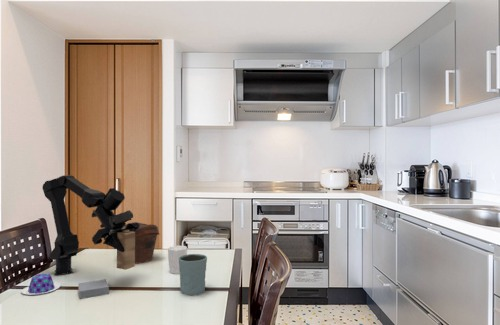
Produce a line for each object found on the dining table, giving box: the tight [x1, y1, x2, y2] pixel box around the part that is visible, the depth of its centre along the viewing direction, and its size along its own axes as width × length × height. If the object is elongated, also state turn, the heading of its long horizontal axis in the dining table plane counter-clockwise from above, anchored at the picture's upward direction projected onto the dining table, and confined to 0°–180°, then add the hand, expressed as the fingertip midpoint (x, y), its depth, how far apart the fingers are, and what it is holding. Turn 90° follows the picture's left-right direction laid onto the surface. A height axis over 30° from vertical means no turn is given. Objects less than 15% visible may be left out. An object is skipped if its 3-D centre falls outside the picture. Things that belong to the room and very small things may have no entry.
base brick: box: [78, 278, 110, 299], centre depth 116 cm, size 9×9×2 cm
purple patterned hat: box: [21, 272, 62, 296], centre depth 118 cm, size 12×12×5 cm
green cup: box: [179, 253, 208, 296], centre depth 117 cm, size 10×10×12 cm
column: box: [116, 230, 136, 271], centre depth 123 cm, size 4×4×14 cm
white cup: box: [167, 245, 188, 275], centre depth 139 cm, size 8×8×10 cm
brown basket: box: [123, 221, 161, 265], centre depth 156 cm, size 18×20×18 cm
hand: (128, 249), depth 122 cm, fingers closed on column, 4 cm apart
